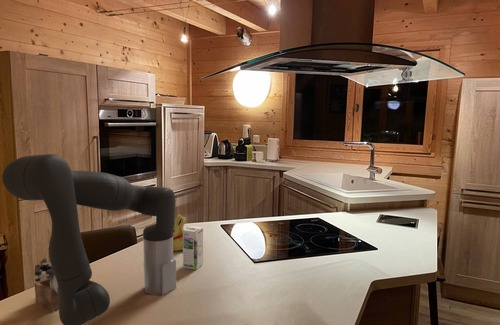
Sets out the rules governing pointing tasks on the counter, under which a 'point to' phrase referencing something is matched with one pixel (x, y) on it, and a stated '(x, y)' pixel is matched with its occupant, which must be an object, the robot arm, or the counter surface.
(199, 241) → the syrup box
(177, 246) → the chocolate bunny
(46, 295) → the holder
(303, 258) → the counter surface
